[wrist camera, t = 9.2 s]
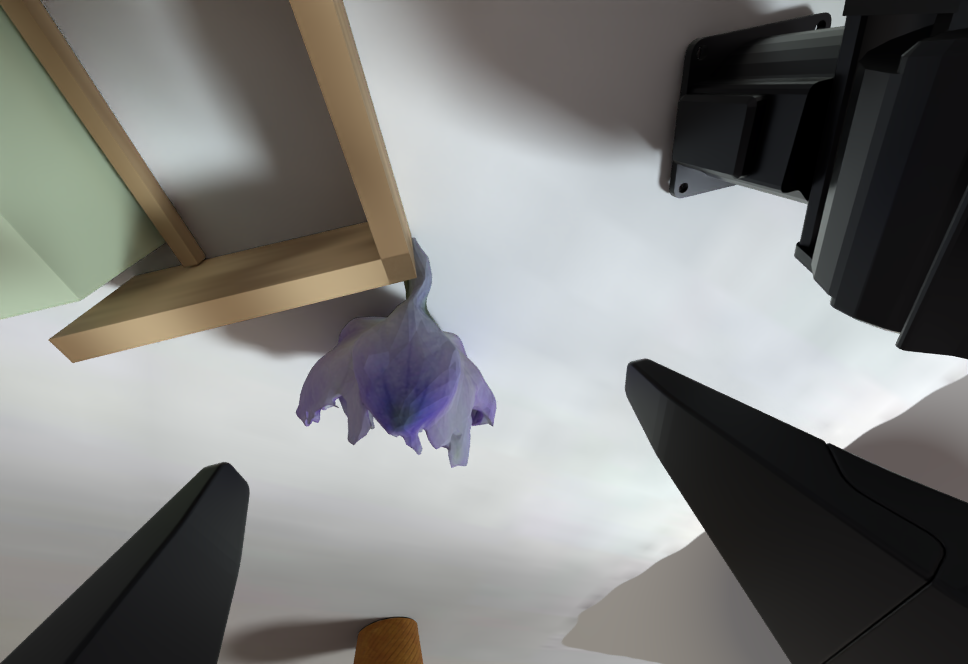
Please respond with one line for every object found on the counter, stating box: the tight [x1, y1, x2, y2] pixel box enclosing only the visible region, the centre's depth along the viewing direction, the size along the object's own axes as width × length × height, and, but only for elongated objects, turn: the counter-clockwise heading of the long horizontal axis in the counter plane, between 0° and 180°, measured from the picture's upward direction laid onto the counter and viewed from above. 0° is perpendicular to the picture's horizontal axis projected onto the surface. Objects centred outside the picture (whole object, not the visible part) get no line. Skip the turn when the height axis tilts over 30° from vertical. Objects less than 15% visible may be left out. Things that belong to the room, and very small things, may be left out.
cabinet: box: [0, 0, 417, 363], centre depth 11 cm, size 14×12×6 cm
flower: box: [296, 238, 496, 468], centre depth 17 cm, size 9×9×10 cm
